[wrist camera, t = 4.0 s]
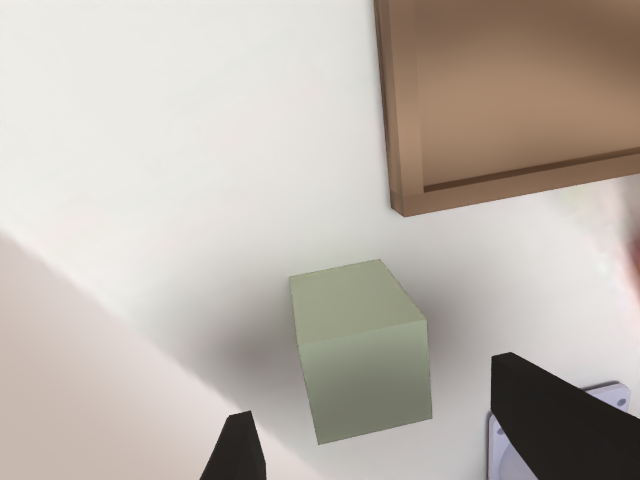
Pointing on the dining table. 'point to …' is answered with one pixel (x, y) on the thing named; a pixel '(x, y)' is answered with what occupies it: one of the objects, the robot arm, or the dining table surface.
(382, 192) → the dining table surface
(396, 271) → the dining table surface
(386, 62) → the walnut tray
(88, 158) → the dining table surface
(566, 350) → the dining table surface
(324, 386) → the sage block
